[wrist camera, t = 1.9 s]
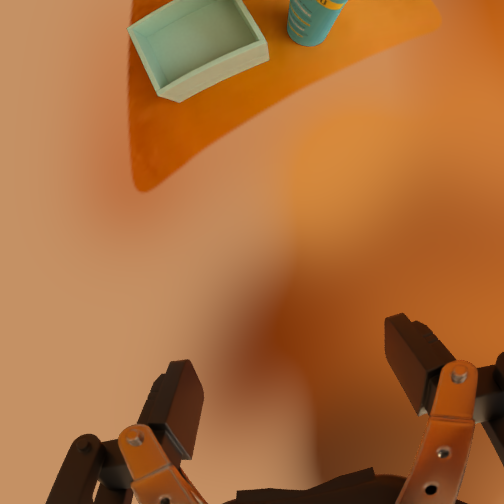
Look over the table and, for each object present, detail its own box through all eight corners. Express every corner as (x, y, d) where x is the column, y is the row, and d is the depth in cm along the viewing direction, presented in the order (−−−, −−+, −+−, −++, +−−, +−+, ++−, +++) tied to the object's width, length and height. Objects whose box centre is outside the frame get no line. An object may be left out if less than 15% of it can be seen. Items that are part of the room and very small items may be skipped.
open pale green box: (150, 43, 29) (126, 28, 22) (235, 0, 26) (225, -24, 20) (179, 102, 32) (157, 96, 26) (269, 60, 29) (267, 42, 23)
